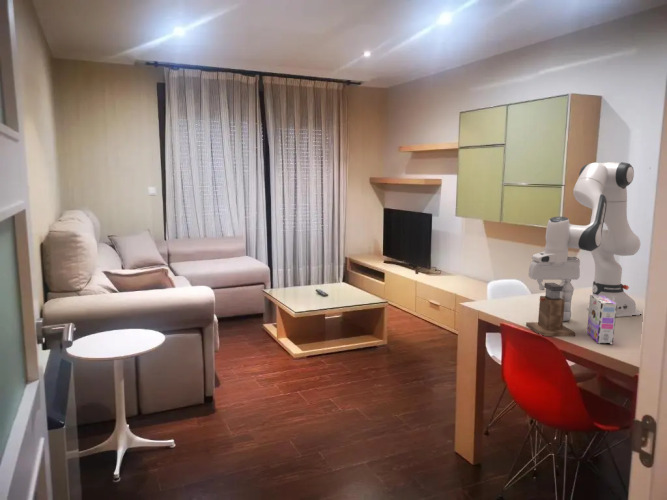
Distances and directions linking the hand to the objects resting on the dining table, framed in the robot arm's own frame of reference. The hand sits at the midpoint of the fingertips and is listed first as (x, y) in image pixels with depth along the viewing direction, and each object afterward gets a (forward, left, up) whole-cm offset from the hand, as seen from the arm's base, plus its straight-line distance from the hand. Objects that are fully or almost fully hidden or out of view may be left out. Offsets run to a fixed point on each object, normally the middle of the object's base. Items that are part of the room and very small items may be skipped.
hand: (552, 289), depth 208 cm
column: (0, 0, -16) cm, 16 cm away
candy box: (-15, +10, -18) cm, 26 cm away
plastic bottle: (-13, -14, -18) cm, 26 cm away
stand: (0, 0, -18) cm, 18 cm away
